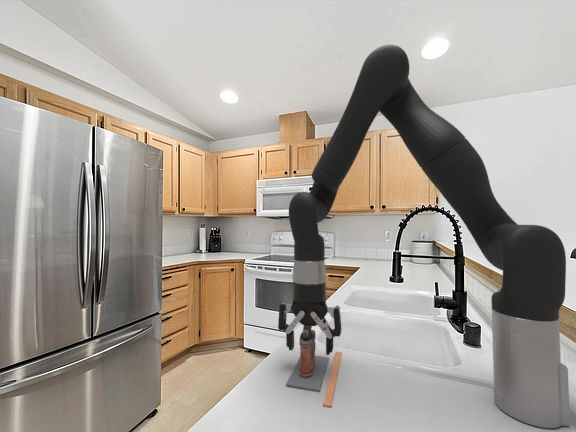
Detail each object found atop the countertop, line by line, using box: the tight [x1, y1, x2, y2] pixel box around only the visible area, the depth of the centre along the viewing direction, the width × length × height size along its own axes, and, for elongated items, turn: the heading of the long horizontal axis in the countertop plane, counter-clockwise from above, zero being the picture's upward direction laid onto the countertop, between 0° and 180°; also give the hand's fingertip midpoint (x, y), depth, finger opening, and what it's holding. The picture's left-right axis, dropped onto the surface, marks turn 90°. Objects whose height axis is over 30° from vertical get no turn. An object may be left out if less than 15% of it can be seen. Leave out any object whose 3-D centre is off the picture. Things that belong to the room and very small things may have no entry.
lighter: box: [298, 325, 317, 379], centre depth 62 cm, size 8×3×10 cm, turn 166°
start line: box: [322, 351, 342, 408], centre depth 60 cm, size 2×22×1 cm, turn 164°
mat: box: [285, 355, 330, 393], centre depth 61 cm, size 7×14×1 cm, turn 164°
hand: (309, 351), depth 62 cm, fingers open, 8 cm apart
